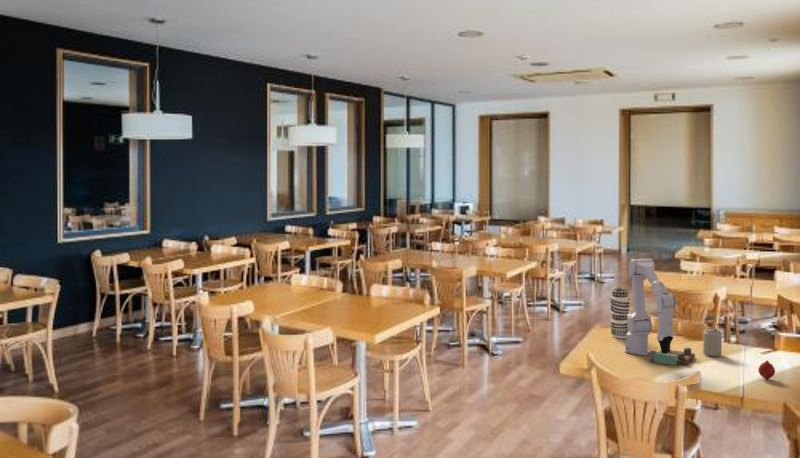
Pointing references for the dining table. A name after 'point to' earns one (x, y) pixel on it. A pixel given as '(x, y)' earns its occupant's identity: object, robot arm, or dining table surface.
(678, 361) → the stool seat
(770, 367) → the onion
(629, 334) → the robot arm
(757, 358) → the dining table surface
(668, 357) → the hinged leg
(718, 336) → the can
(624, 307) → the grey patterned cylinder piece
